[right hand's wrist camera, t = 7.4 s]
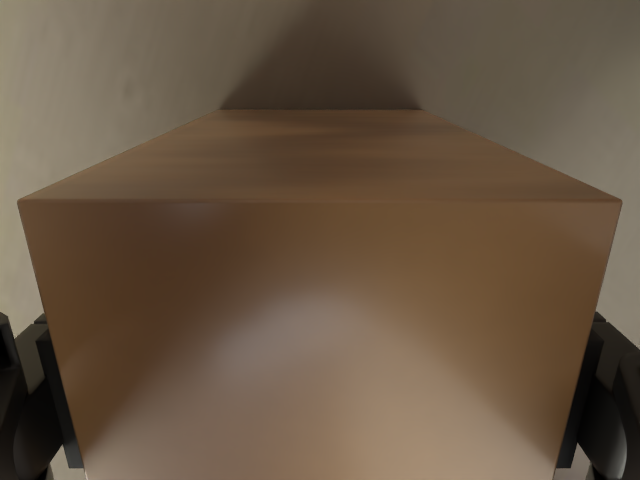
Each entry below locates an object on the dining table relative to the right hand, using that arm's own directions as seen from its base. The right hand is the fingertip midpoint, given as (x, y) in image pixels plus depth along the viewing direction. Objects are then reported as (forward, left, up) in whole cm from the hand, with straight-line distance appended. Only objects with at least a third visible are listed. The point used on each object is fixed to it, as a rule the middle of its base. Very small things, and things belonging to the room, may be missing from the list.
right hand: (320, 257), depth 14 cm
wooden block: (0, 0, -5) cm, 5 cm away
